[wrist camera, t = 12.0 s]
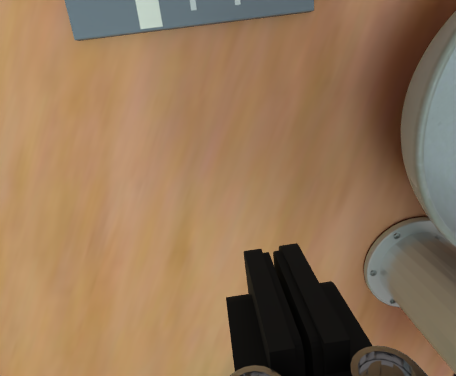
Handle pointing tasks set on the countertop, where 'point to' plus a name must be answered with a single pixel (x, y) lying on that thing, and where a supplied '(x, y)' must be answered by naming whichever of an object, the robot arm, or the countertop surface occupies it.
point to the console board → (168, 14)
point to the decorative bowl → (433, 130)
